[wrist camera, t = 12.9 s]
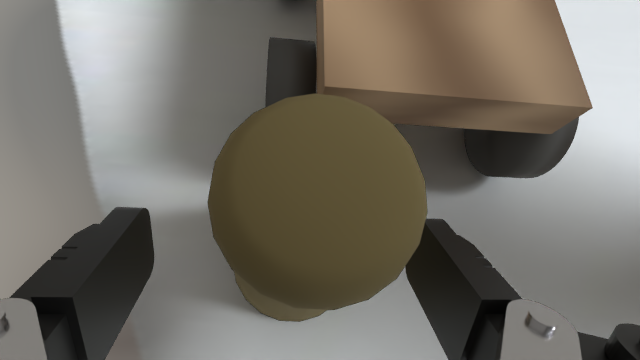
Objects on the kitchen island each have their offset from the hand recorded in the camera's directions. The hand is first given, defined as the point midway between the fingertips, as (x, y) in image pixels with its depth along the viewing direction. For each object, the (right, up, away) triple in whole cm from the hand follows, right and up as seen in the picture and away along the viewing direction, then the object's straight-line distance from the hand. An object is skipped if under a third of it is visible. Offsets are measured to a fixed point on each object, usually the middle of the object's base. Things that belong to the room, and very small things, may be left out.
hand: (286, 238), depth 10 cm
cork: (0, -2, +7) cm, 7 cm away
